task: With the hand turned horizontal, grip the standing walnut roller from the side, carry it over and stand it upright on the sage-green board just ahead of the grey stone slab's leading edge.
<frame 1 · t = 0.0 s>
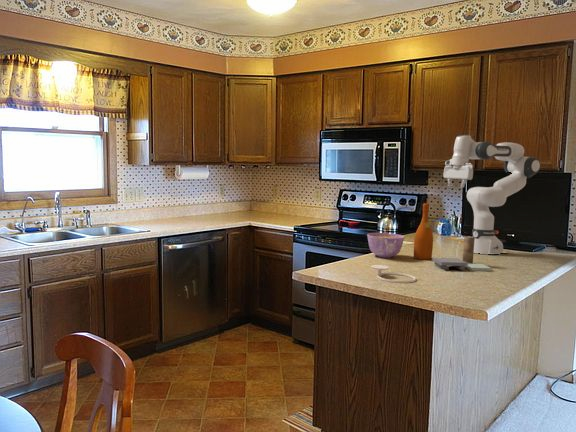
hand: (456, 186, 281), 39 cm above the worktop, tool pointing down, fingers open, 8 cm apart
bowl of food: (384, 256, 269), on the worktop
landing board: (476, 268, 244), on the worktop
walnut roller: (467, 264, 255), on the worktop
hand towel holder: (392, 279, 216), on the worktop
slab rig: (449, 268, 243), on the worktop
wine bottle: (422, 258, 267), on the worktop
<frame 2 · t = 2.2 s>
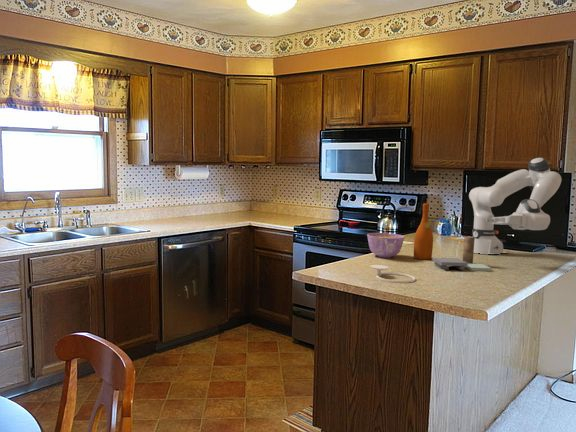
hand: (490, 219, 254), 23 cm above the worktop, tool horizontal, fingers open, 8 cm apart
nothing on the worktop moved.
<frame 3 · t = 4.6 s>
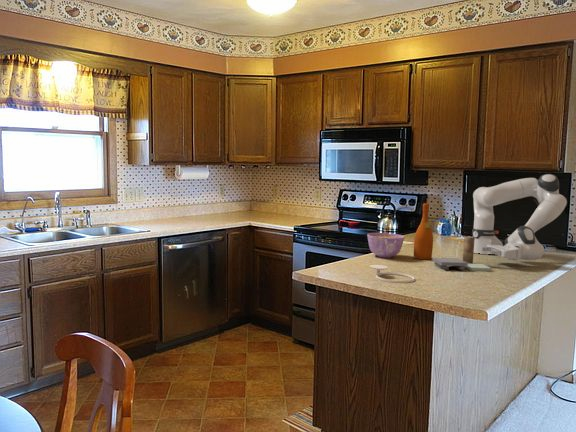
hand: (486, 250, 255), 7 cm above the worktop, tool horizontal, fingers open, 8 cm apart
nothing on the worktop moved.
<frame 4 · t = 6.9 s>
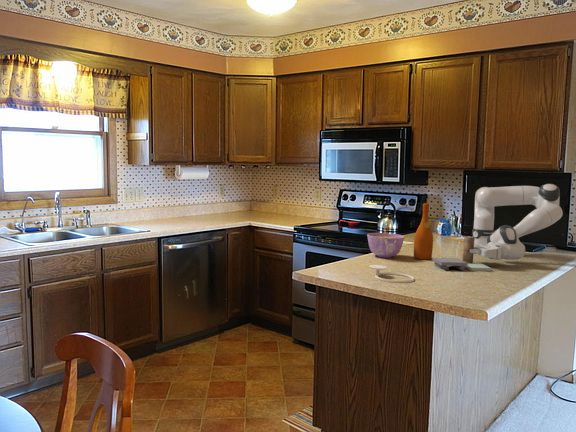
hand: (466, 249, 254), 8 cm above the worktop, tool horizontal, fingers closed on walnut roller, 5 cm apart
walnut roller: (467, 264, 255), on the worktop, touching gripper
everything else where it was.
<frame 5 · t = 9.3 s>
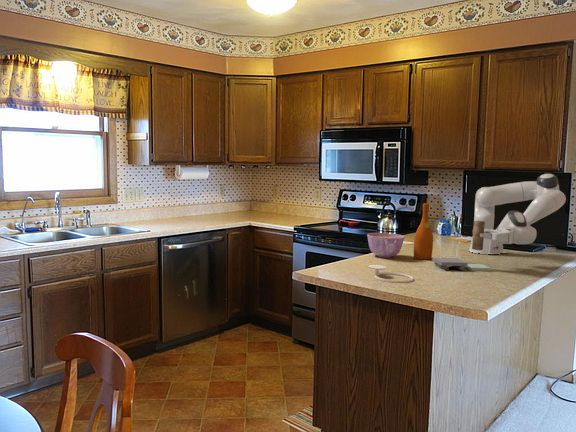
hand: (476, 234, 245), 17 cm above the worktop, tool horizontal, fingers closed on walnut roller, 5 cm apart
walnut roller: (477, 249, 245), point 9 cm above the worktop, touching gripper
when the fingers open (10 cm above the worktop, at t = 11.7 s): walnut roller stays where it is, resting on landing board.
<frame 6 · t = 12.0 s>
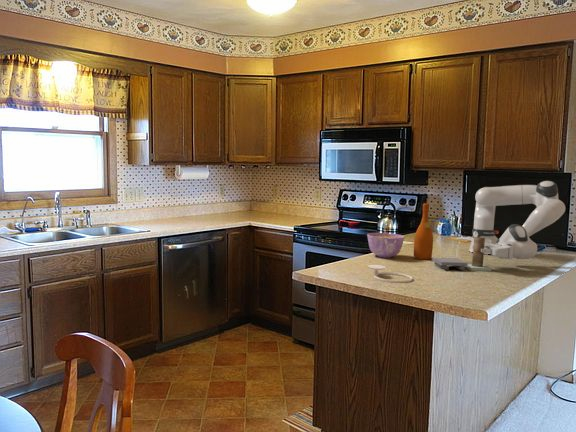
hand: (476, 248, 243), 10 cm above the worktop, tool horizontal, fingers open, 7 cm apart
walnut roller: (477, 265, 244), point 2 cm above the worktop, touching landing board
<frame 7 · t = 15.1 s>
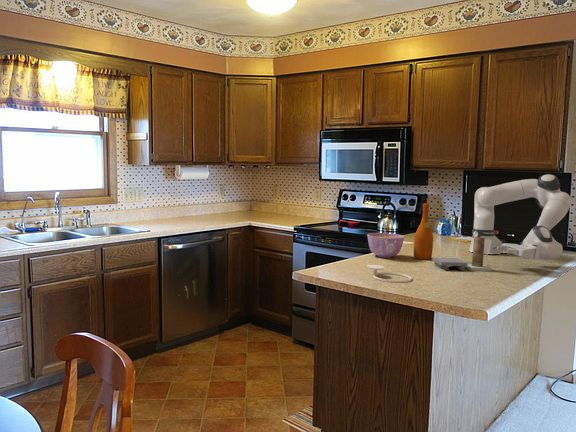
hand: (502, 249, 244), 10 cm above the worktop, tool horizontal, fingers open, 8 cm apart
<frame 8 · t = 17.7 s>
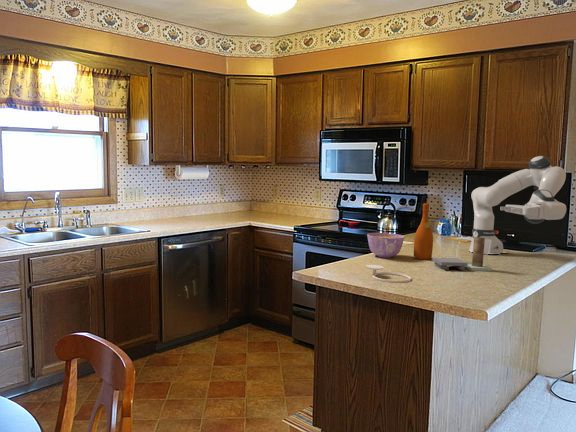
hand: (505, 209, 242), 30 cm above the worktop, tool horizontal, fingers open, 8 cm apart
at the end: walnut roller inside the target area on the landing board (0.1 cm from its centre), point 1.5 cm above the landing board's base; walnut roller tilted 0°; the gripper is holding nothing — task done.
